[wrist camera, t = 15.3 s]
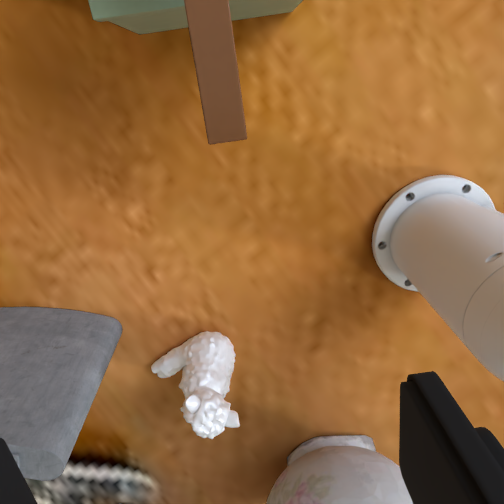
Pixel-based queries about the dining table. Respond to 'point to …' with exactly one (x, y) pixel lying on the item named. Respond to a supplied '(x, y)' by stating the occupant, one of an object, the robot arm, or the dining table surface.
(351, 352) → the dining table surface
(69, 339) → the hip flask
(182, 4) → the sage green box
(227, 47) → the pan
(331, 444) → the ceramic pitcher
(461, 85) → the dining table surface
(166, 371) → the sitting furry creature
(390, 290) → the dining table surface
